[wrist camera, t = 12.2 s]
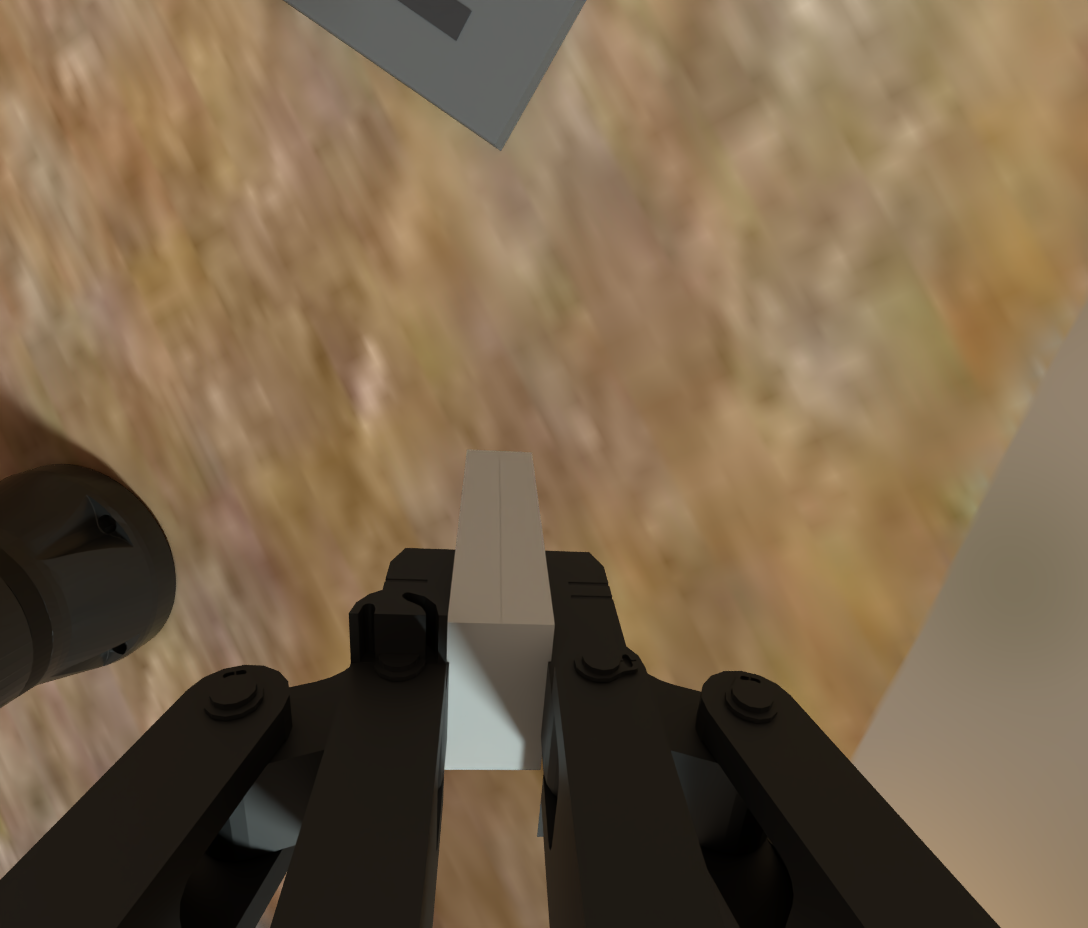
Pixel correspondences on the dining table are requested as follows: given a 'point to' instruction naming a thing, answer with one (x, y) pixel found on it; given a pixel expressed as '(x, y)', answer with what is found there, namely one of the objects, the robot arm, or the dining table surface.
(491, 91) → the switch panel
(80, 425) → the dining table surface
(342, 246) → the dining table surface
